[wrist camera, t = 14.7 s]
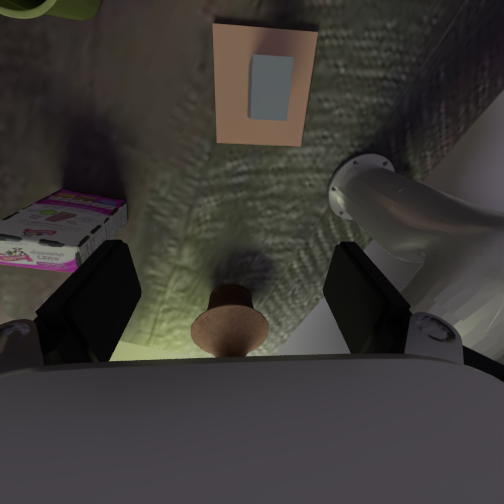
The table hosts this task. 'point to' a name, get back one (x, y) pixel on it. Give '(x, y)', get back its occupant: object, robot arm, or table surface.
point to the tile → (236, 82)
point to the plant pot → (50, 8)
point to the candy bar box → (60, 230)
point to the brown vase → (229, 323)
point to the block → (269, 87)
